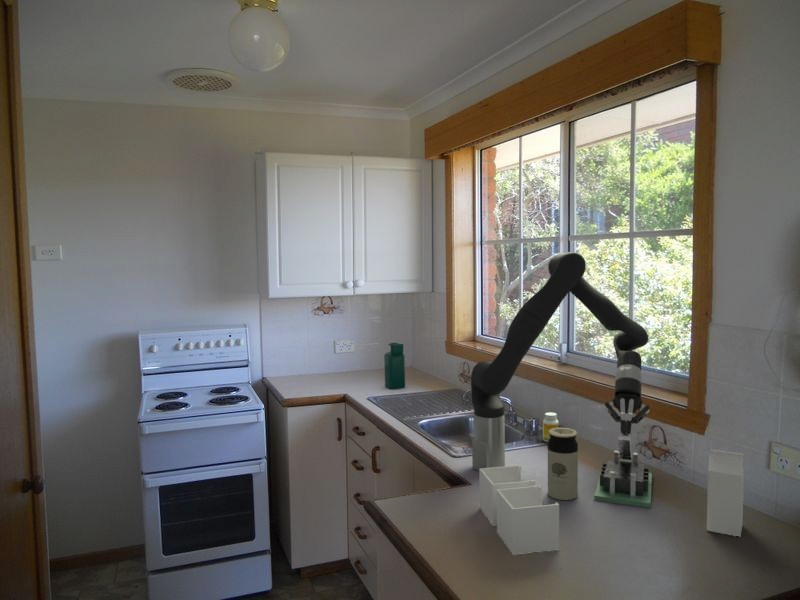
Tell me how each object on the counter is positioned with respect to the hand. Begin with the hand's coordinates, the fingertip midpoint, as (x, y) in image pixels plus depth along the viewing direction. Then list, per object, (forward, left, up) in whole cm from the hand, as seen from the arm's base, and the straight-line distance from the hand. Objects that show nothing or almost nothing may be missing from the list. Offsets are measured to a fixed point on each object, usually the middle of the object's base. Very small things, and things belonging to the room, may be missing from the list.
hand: (625, 434), depth 174 cm
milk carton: (-7, -31, -14) cm, 35 cm away
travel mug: (-21, +6, -14) cm, 26 cm away
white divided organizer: (-45, +1, -15) cm, 47 cm away
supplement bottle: (+13, +38, -14) cm, 43 cm away
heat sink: (-4, -2, -13) cm, 14 cm away
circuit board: (-4, -2, -14) cm, 15 cm away
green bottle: (+19, +138, -14) cm, 140 cm away
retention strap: (-3, -2, -4) cm, 5 cm away
